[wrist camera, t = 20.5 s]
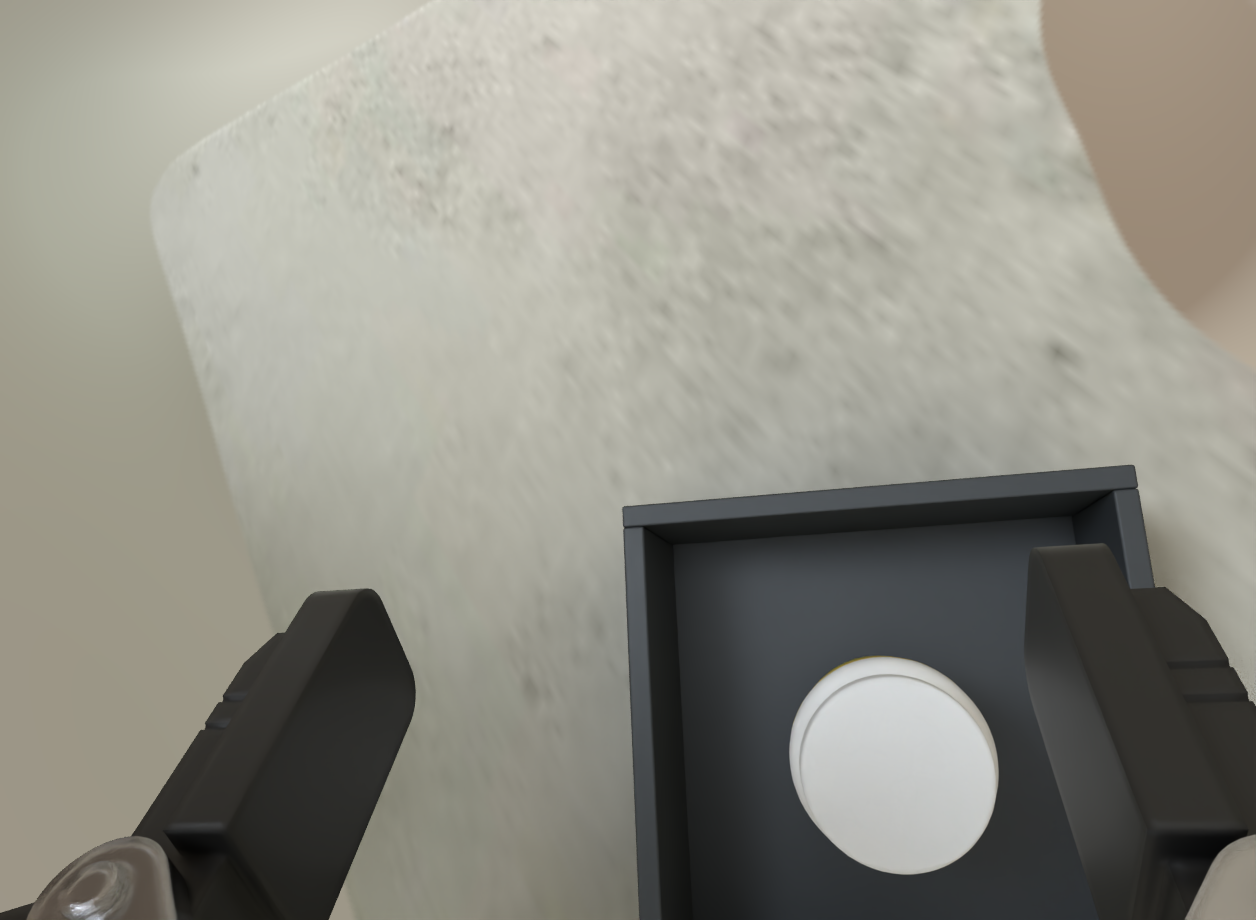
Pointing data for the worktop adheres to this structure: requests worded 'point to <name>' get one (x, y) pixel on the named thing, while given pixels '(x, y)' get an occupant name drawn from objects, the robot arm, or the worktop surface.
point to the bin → (820, 641)
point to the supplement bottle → (894, 764)
